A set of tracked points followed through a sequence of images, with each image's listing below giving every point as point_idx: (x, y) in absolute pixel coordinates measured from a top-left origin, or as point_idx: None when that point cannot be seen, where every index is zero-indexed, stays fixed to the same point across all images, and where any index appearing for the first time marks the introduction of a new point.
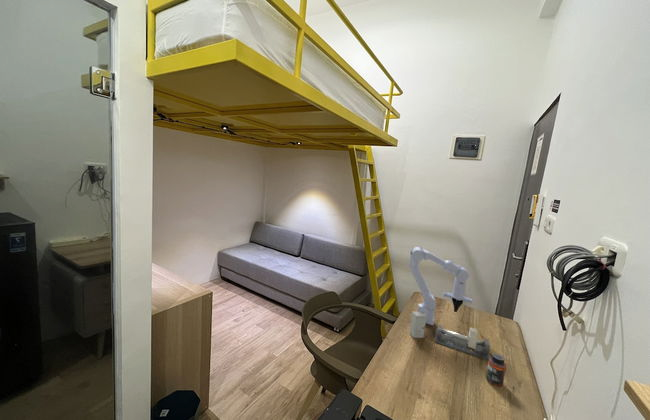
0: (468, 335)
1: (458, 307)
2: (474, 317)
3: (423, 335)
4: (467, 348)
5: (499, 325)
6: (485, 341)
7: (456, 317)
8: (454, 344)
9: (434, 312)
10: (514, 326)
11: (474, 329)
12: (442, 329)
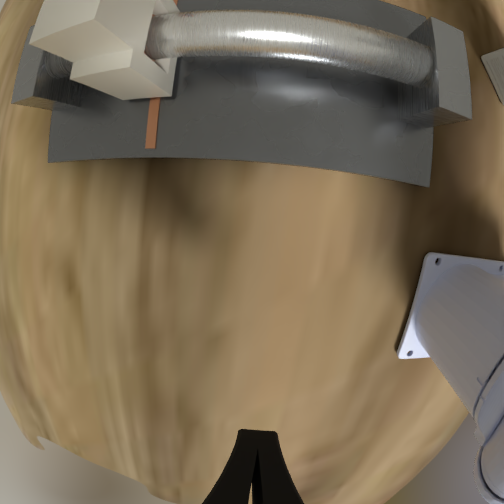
0: (148, 58)
1: (217, 498)
2: (128, 455)
3: (489, 53)
4: (193, 9)
5: (40, 413)
6: (36, 56)
7: (219, 440)
8: (291, 8)
9: (469, 345)
10: (13, 413)
11: (59, 6)
12: (425, 47)
